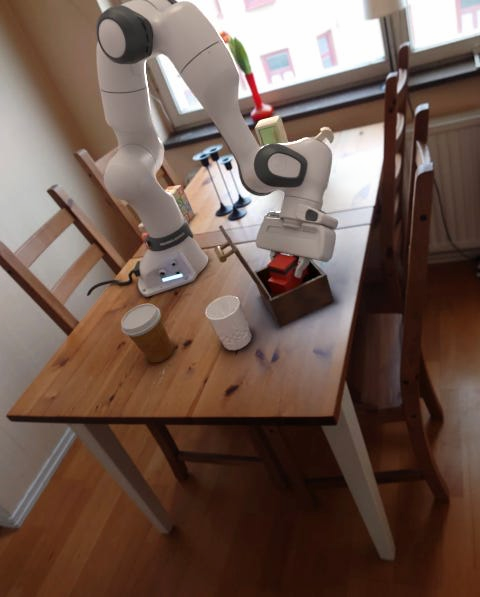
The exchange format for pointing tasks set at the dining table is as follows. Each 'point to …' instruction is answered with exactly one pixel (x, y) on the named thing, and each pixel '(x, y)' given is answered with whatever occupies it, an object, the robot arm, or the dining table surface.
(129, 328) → the disposable coffee cup
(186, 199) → the printed cardboard box
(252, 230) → the dining table surface
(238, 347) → the white cup
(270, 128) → the toy refrigerator
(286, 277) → the red stepped block
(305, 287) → the toy chest
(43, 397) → the dining table surface
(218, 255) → the chest lid
